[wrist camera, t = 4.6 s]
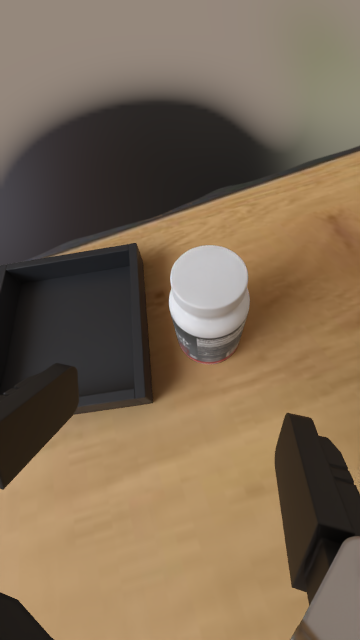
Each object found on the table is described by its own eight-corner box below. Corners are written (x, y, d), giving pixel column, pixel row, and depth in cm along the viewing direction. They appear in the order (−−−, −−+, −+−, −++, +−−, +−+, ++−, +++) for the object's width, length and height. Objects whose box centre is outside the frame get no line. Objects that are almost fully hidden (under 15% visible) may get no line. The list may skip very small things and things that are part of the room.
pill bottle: (172, 317, 25) (154, 248, 16) (228, 304, 25) (239, 228, 17) (185, 373, 23) (171, 326, 14) (247, 358, 23) (272, 302, 14)
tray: (142, 261, 29) (136, 242, 26) (153, 403, 22) (145, 397, 19) (18, 281, 29) (-1, 265, 27) (-11, 426, 22) (-41, 424, 20)
